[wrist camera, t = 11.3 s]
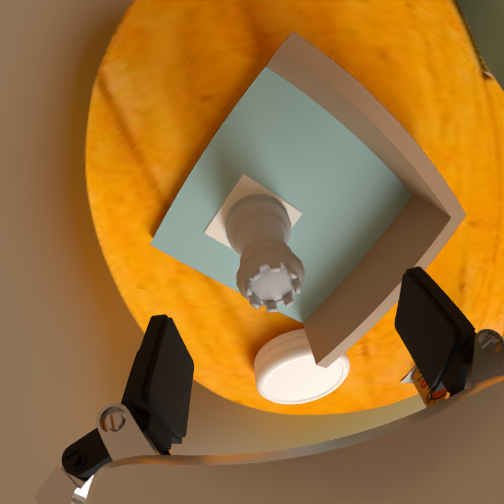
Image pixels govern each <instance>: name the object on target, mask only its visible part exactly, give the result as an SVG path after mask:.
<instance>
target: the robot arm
mask: <svg viewBox="0 0 504 504" xmlns="http://www.w3.org/2000/svg"><path fill="white" fill-rule="evenodd" d="M395 328H396V330H397V332H398V334H399V335H400V337H401V339H402V341H403V342H404V344H405V346H406V347H407V349H408V351H409V353H410V354H411V356H412V358H413V360H414V362H415V363H416V365H417V367H418V369H419V371H420V373H421V374H422V376H423V378H424V380H425V382H426V384H427V386H428V387H432V389H433V391H434V393H435V392H437V391H439V390H441V389H443V388H445V389H446V391H447V394H446V399H445V400H443V401H441V402H439V403H436V404H434V405H432V406H430V407H428V408H425V409H423V410H421V411H419V412H416V413H414V414H411V415H409V416H406V417H404V418H401V419H399V420H396V421H393V422H391V423H388V424H385V425H382V426H379V427H376V428H373V429H370V430H367V431H364V432H360V433H357V434H353V435H350V436H346V437H342V438H338V439H334V440H330V441H326V442H322V443H317V444H312V445H307V446H301V447H295V448H289V449H283V450H275V451H268V452H260V453H248V454H234V455H206V456H183V455H174V454H173V453H172V452H171V451H170V449H171V443H175V444H181V443H182V437H185V435H186V431H187V422H188V413H189V404H190V395H191V388H192V380H193V373H194V363H193V360H192V358H191V356H190V354H189V352H188V350H187V348H186V346H185V344H184V342H183V340H182V338H181V336H180V334H179V332H178V330H177V328H176V326H175V324H174V321H173V319H172V318H168V316H167V315H165V314H164V315H156V316H152V317H151V319H150V321H149V324H148V327H147V330H146V332H145V335H144V338H143V341H142V344H141V347H140V349H139V351H138V352H137V354H136V357H135V360H134V363H133V366H132V369H131V372H130V375H129V378H128V382H127V385H126V388H125V392H124V395H123V398H122V401H121V404H119V403H112V404H109V405H107V406H105V407H104V408H103V409H102V410H101V411H100V412H99V414H98V416H97V420H96V424H97V428H96V429H94V430H93V431H91V432H90V433H88V434H87V435H86V436H84V437H82V438H81V439H79V440H78V441H76V442H75V443H73V444H72V445H70V446H69V447H68V448H66V450H65V451H64V453H63V455H62V467H61V466H59V465H58V466H57V467H56V469H55V470H54V471H53V472H52V473H51V475H50V476H49V477H48V478H47V479H46V481H45V482H44V483H43V484H42V485H41V487H40V488H39V489H38V491H37V493H36V500H37V503H38V504H504V340H503V338H502V337H501V336H500V334H499V333H497V332H496V331H494V330H491V329H483V330H481V331H479V332H478V333H477V334H476V333H475V331H474V330H475V328H474V327H473V325H472V324H471V323H470V322H469V320H468V319H467V318H466V317H465V315H464V314H463V313H462V312H461V311H460V310H459V308H458V307H457V306H456V305H455V304H454V303H453V301H452V300H451V299H450V298H449V297H448V296H447V295H446V293H445V292H444V291H443V290H442V289H441V288H440V287H439V286H438V285H437V284H436V282H435V281H434V280H433V279H432V278H431V277H430V276H429V275H428V274H427V273H426V272H425V271H424V270H423V269H422V268H421V267H420V266H417V267H413V268H409V269H407V270H406V272H405V273H404V274H403V276H402V283H401V289H400V295H399V301H398V307H397V312H396V317H395Z"/></svg>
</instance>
